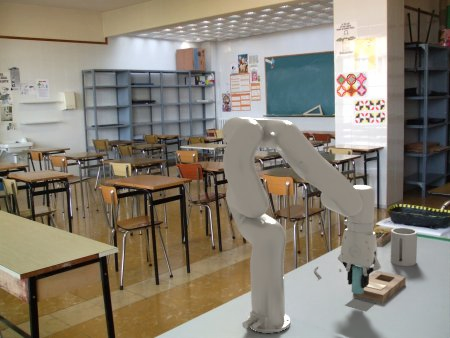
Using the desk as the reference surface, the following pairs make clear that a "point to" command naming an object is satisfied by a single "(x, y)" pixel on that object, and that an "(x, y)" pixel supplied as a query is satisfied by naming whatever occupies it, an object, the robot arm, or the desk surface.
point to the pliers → (319, 275)
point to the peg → (357, 279)
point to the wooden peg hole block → (382, 286)
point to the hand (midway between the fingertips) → (357, 284)
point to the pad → (360, 304)
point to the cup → (403, 246)
